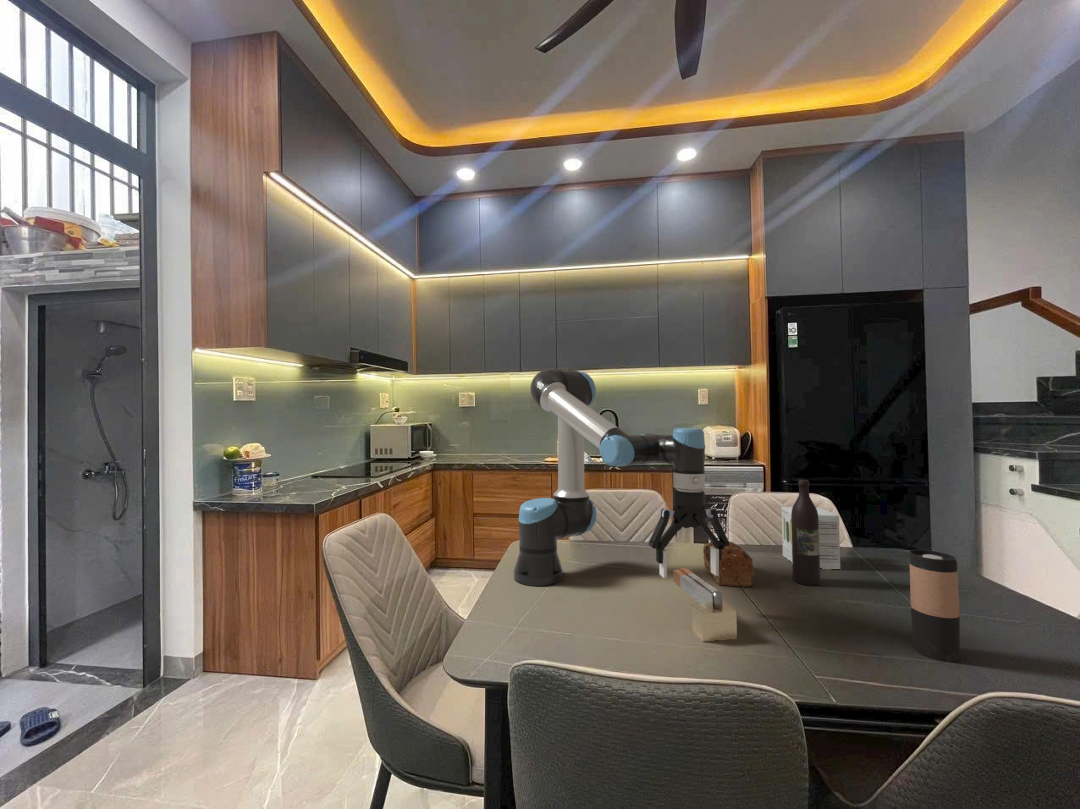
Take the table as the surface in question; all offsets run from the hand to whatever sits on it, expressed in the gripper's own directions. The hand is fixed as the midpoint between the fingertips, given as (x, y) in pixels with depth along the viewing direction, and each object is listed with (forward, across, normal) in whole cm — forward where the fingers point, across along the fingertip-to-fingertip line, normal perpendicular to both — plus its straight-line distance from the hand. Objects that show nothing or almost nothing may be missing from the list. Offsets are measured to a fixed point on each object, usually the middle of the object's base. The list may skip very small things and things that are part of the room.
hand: (689, 575), depth 113 cm
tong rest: (+9, 0, -4) cm, 10 cm away
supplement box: (+10, +58, +32) cm, 67 cm away
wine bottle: (+10, +44, +16) cm, 48 cm away
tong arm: (+3, +1, -3) cm, 5 cm away
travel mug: (+9, +41, -26) cm, 49 cm away
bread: (+10, +24, +24) cm, 35 cm away
